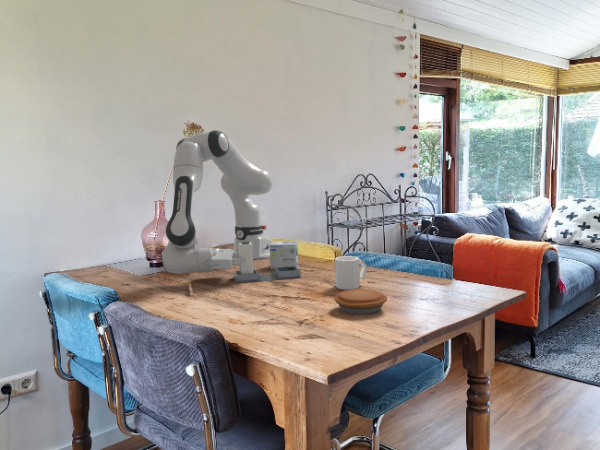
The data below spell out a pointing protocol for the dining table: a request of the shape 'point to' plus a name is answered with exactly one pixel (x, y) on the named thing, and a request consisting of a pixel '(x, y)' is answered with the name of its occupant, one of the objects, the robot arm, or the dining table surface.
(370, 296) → the pie
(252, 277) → the grey double tray
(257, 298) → the dining table surface
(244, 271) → the white rectangular bottle
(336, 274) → the mug
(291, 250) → the light bulb box
